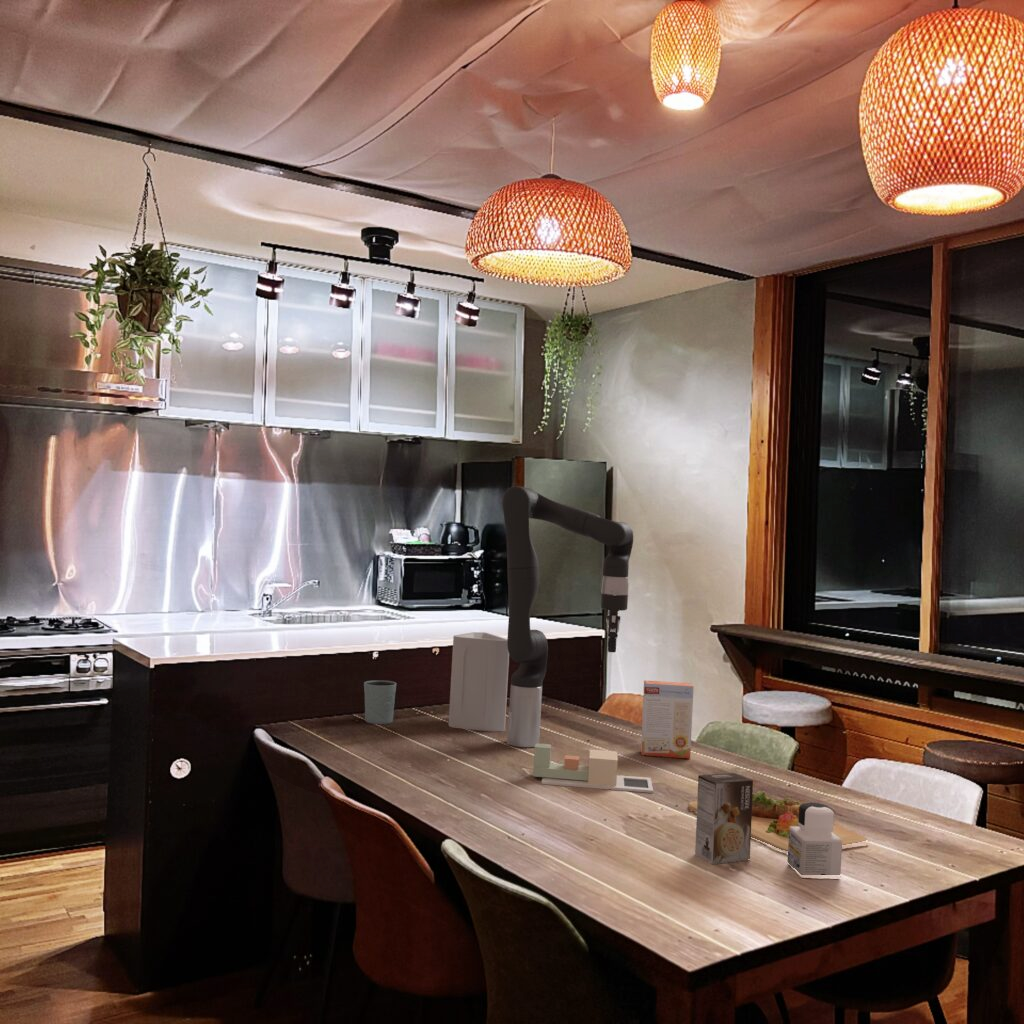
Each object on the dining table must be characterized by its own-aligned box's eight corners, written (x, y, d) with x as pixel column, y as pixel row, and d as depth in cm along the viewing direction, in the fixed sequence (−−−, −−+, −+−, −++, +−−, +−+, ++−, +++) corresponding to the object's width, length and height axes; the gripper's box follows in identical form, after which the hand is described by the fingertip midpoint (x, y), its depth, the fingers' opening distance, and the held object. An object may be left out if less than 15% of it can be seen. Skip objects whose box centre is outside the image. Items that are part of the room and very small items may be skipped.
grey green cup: (391, 725, 295) (394, 686, 296) (359, 723, 296) (361, 684, 296) (396, 718, 306) (398, 680, 306) (364, 716, 306) (366, 679, 306)
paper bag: (438, 719, 307) (443, 632, 307) (480, 718, 314) (485, 632, 314) (461, 733, 290) (466, 640, 290) (505, 730, 296) (510, 640, 297)
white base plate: (541, 783, 239) (543, 755, 239) (544, 771, 251) (545, 744, 251) (653, 793, 236) (654, 764, 236) (650, 780, 248) (652, 753, 248)
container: (786, 864, 190) (790, 799, 190) (824, 865, 191) (827, 800, 191) (801, 879, 182) (805, 811, 182) (841, 880, 183) (844, 812, 183)
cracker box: (688, 754, 279) (692, 682, 279) (690, 759, 273) (694, 686, 273) (640, 750, 280) (643, 679, 280) (640, 755, 274) (644, 682, 274)
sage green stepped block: (532, 776, 242) (534, 747, 242) (534, 770, 248) (536, 742, 248) (588, 780, 241) (590, 752, 241) (588, 774, 246) (590, 746, 246)
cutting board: (872, 848, 205) (874, 812, 205) (791, 860, 194) (793, 823, 195) (759, 801, 236) (761, 770, 236) (683, 809, 225) (685, 777, 226)
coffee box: (731, 850, 197) (735, 771, 197) (750, 861, 191) (754, 780, 191) (693, 854, 193) (697, 774, 193) (712, 865, 187) (716, 783, 187)
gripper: (601, 590, 278) (598, 646, 278) (601, 593, 264) (598, 652, 263) (627, 591, 277) (624, 647, 277) (628, 595, 263) (625, 654, 263)
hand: (611, 650), depth 270 cm, fingers open, 8 cm apart
